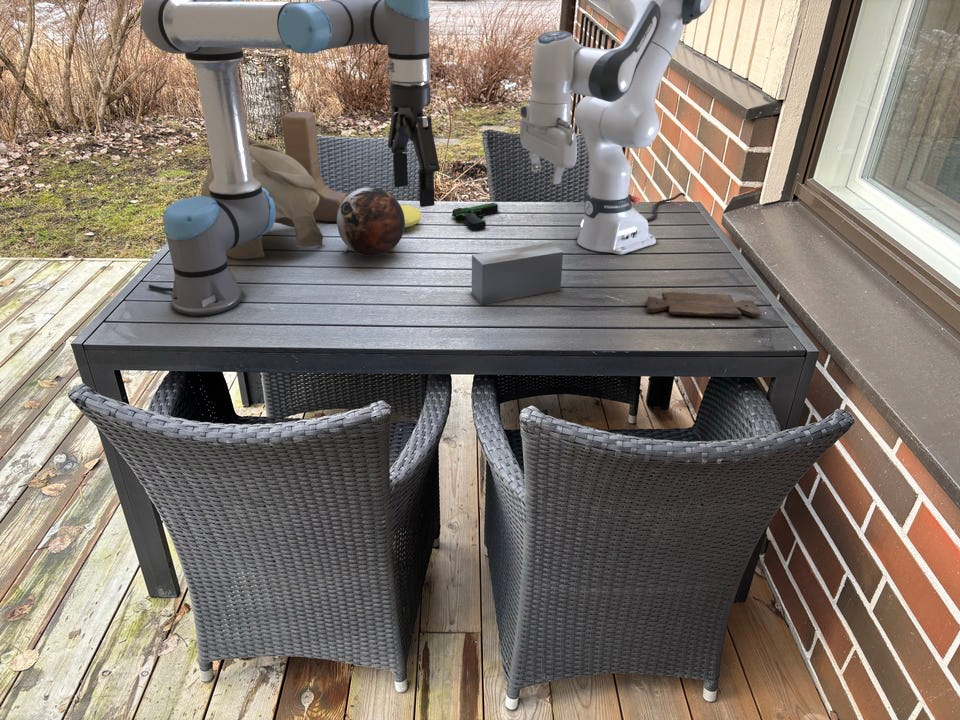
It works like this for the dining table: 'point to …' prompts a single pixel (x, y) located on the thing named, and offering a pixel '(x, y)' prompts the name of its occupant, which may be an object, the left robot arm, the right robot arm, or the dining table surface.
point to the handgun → (475, 215)
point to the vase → (411, 215)
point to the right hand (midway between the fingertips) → (545, 177)
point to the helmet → (280, 197)
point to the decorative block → (310, 160)
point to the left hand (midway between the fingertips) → (413, 195)
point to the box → (516, 272)
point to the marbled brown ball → (370, 221)
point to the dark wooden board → (702, 305)
